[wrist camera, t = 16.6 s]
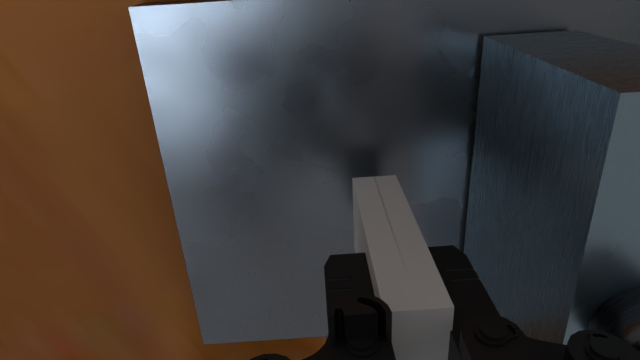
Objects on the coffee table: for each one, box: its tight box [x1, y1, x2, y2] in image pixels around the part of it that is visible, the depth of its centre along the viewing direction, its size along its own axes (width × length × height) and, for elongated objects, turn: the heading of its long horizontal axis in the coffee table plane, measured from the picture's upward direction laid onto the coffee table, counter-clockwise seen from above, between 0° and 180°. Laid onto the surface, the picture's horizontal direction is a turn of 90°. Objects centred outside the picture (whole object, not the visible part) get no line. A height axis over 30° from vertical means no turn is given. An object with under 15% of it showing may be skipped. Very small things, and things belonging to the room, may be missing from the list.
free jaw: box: [463, 30, 640, 352], centre depth 13 cm, size 4×11×9 cm, turn 3°
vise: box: [128, 0, 640, 344], centre depth 15 cm, size 26×14×8 cm, turn 93°
